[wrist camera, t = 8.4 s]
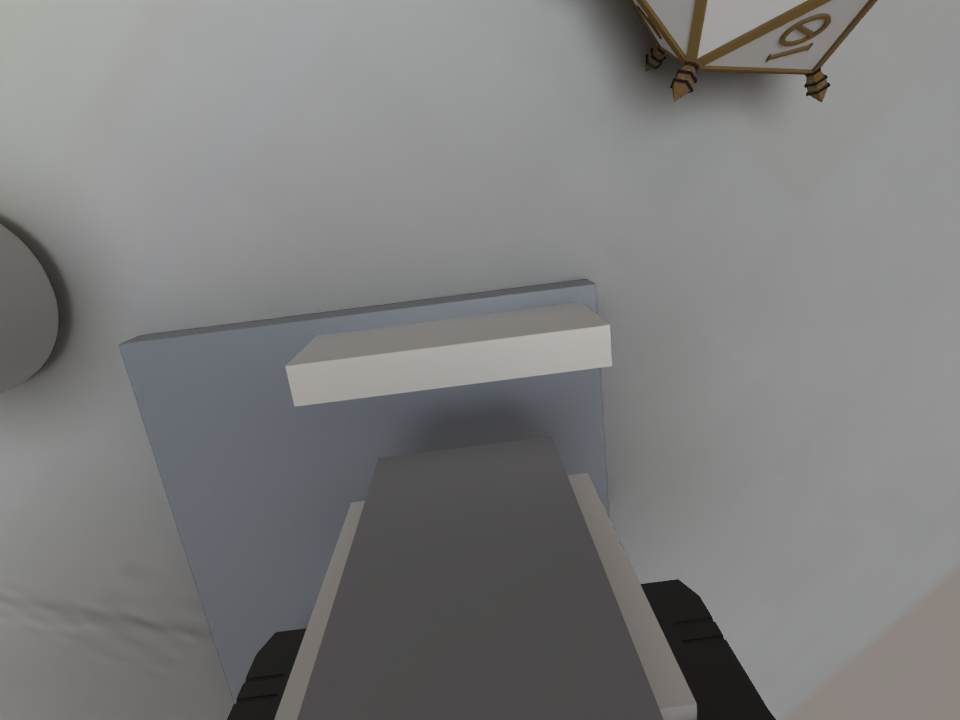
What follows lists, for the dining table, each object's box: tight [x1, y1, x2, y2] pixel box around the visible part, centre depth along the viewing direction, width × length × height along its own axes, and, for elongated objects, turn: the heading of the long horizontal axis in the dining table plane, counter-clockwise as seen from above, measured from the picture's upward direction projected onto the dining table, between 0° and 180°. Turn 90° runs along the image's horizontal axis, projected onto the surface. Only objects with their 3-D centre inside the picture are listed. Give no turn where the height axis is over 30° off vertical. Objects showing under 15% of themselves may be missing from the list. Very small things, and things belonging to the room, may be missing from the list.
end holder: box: [285, 302, 612, 407], centre depth 18 cm, size 9×9×4 cm
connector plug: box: [297, 436, 664, 720], centre depth 10 cm, size 4×4×10 cm
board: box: [119, 279, 609, 704], centre depth 20 cm, size 16×22×4 cm
